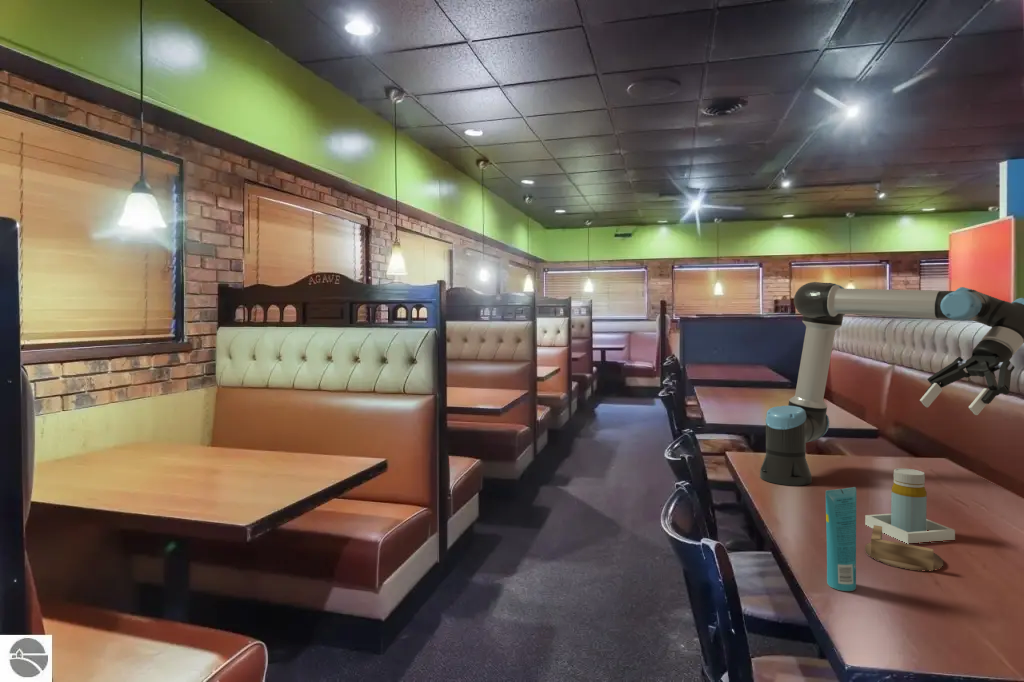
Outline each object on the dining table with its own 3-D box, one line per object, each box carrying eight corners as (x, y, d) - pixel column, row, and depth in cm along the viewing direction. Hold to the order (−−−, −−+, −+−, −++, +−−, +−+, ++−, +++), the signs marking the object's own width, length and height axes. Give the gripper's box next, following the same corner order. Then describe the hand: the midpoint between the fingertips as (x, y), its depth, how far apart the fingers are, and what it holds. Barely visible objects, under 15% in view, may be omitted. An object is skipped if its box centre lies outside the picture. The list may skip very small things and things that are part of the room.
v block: (901, 541, 131) (901, 523, 131) (963, 569, 116) (964, 548, 116) (846, 546, 129) (846, 527, 129) (903, 575, 114) (903, 554, 113)
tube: (842, 577, 113) (843, 483, 112) (865, 587, 109) (866, 489, 108) (816, 584, 110) (817, 487, 110) (839, 595, 106) (839, 494, 105)
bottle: (920, 529, 139) (920, 469, 138) (930, 539, 132) (931, 476, 132) (887, 526, 141) (887, 467, 140) (896, 536, 134) (896, 474, 134)
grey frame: (865, 525, 142) (865, 515, 142) (908, 521, 144) (908, 512, 144) (907, 544, 129) (908, 533, 129) (954, 540, 131) (955, 529, 131)
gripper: (1058, 360, 135) (1005, 425, 133) (959, 355, 159) (913, 410, 157) (1040, 339, 134) (986, 404, 132) (943, 337, 158) (897, 392, 156)
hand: (947, 407), depth 145 cm, fingers open, 13 cm apart
